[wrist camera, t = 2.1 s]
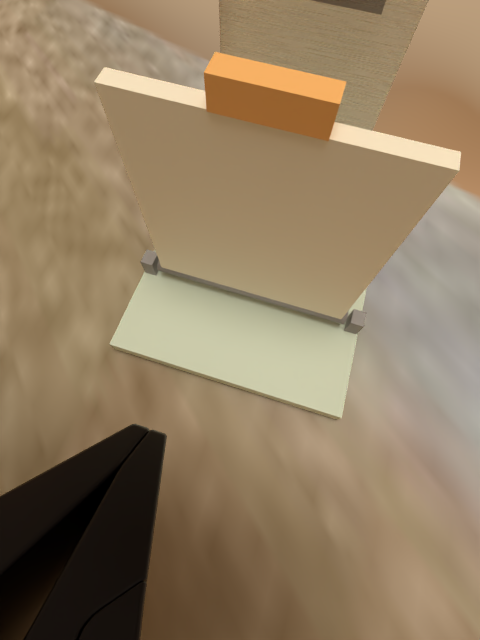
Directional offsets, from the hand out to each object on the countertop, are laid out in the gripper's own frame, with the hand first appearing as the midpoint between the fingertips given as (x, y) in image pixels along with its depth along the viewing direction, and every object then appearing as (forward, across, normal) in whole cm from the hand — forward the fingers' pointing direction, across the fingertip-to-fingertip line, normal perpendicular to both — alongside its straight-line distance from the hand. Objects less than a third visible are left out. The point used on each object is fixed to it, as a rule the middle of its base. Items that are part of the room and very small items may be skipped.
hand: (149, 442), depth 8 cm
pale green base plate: (+18, 0, 0) cm, 18 cm away
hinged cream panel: (+15, 0, +1) cm, 15 cm away
